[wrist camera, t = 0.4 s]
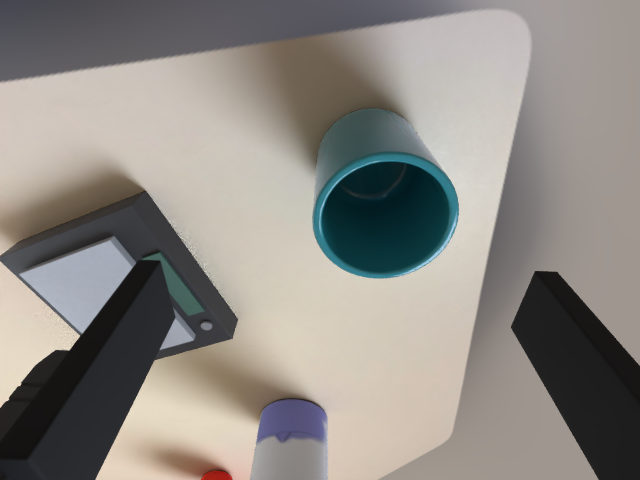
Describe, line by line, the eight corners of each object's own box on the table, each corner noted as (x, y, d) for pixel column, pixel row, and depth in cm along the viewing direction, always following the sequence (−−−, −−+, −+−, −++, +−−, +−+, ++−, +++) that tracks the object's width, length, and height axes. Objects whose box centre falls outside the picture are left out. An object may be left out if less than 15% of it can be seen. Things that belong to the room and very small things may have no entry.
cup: (384, 239, 36) (404, 320, 27) (296, 160, 32) (282, 224, 22) (460, 179, 33) (514, 249, 23) (372, 81, 28) (393, 117, 19)
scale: (19, 241, 37) (-10, 263, 34) (146, 190, 34) (127, 209, 31) (128, 350, 46) (114, 376, 43) (238, 319, 43) (230, 344, 40)
